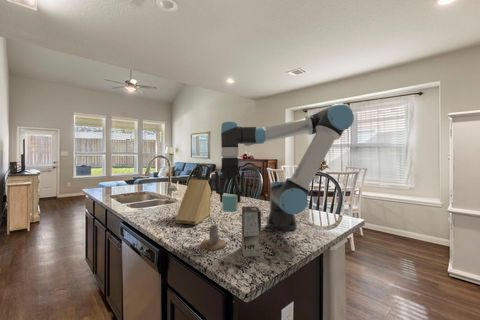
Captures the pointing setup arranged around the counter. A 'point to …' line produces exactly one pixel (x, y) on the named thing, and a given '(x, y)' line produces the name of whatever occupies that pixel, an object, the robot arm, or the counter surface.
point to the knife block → (196, 198)
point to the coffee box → (251, 231)
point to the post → (213, 240)
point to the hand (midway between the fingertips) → (230, 209)
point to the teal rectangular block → (229, 203)
